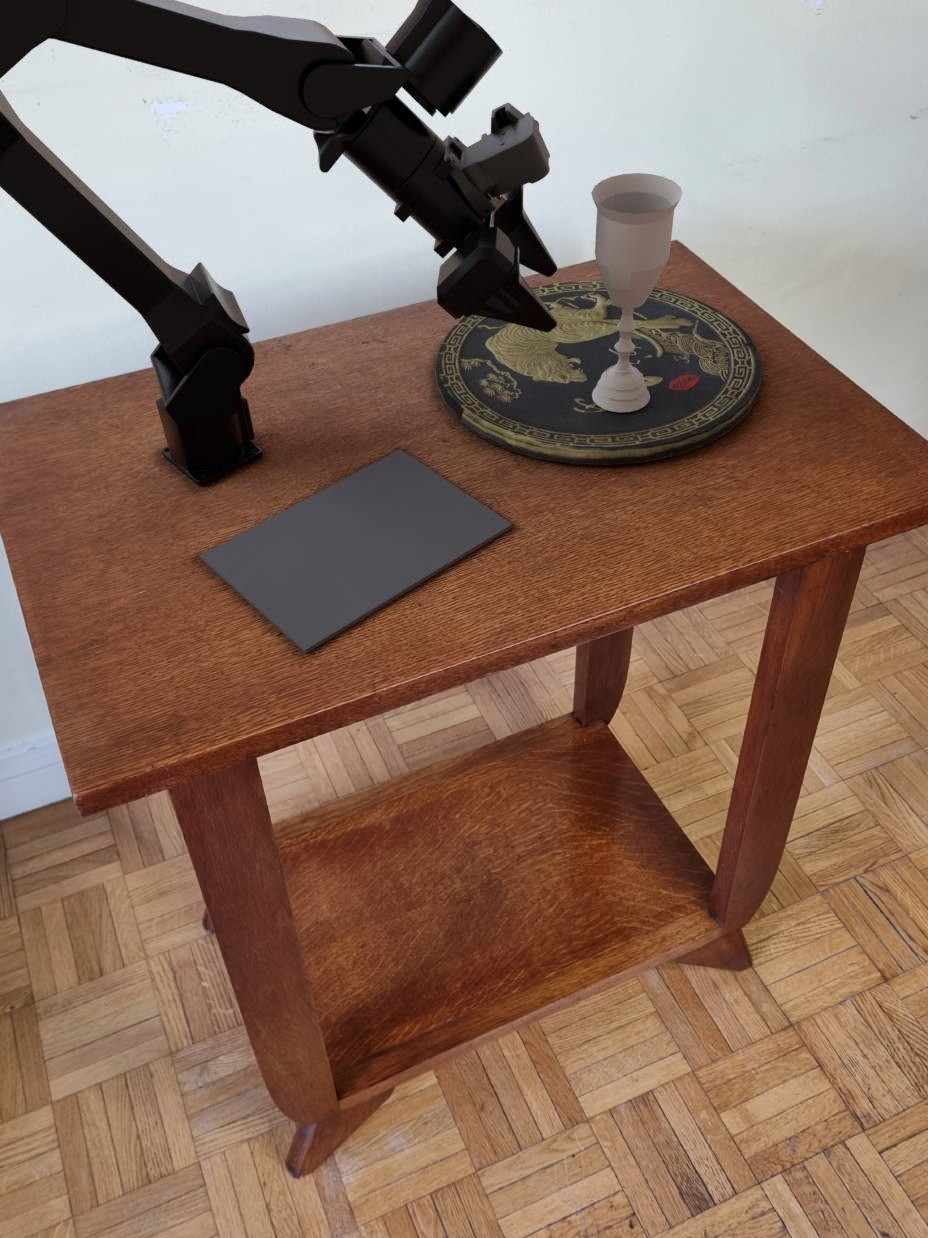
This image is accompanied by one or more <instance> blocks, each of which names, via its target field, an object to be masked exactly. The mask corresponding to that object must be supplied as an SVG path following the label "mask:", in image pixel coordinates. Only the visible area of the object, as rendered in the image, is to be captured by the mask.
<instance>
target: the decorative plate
mask: <svg viewBox="0 0 928 1238" xmlns="http://www.w3.org/2000/svg"><path fill="white" fill-rule="evenodd" d="M531 288H532V289H533V291H534V292H535V293H536V294H537V296H538V297H539V298H540V299H541V301H542V302H543V303H544V304H545V306H546V307H547V308H548V310H549V311H550V312H551V314H552V315H553V316H554V318H555V319H556V321H557V326H556V327H555V328H554V329H553V330H551V331H550V332H543V331H539V330H536V329H532V328H528V327H525V326H521V325H517V324H513V323H510V322H506V321H502V320H497V319H492V318H487V317H482V316H477V315H471V316H470V317H468V318H467V317H465V316H462V317H461V318H460V319H459V321H458V322H457V323H456V324H455V325H454V326H453V327H452V328H451V329H449V331H448V333H447V334H446V336H445V338H444V340H443V341H442V343H441V345H440V346H439V349H438V354H437V359H436V362H435V366H434V367H435V368H434V369H435V371H434V374H435V381H436V390H437V392H438V394H439V397H440V399H441V400H442V402H443V404H444V406H445V408H446V409H447V410H448V412H449V413H450V414H451V415H452V416H453V417H454V418H455V419H456V420H457V421H458V422H459V423H460V424H461V425H462V426H463V427H465V428H466V429H467V430H470V431H471V432H472V433H474V434H475V435H477V436H478V437H479V438H481V439H483V440H485V441H487V442H488V443H489V442H490V443H492V444H494V445H496V446H499V447H501V448H503V449H506V450H508V451H510V452H514V453H518V454H521V455H524V456H528V457H532V458H535V459H540V460H544V461H552V462H559V463H564V464H572V465H590V466H591V465H593V466H595V465H596V466H616V465H617V466H618V465H628V464H629V465H630V464H639V463H641V464H642V463H649V462H653V461H658V460H662V459H668V458H671V457H676V456H681V455H683V454H684V453H685V454H686V453H688V452H691V451H693V450H696V449H700V448H702V447H704V446H707V445H709V444H711V443H712V442H714V441H716V440H717V439H719V438H721V437H722V436H725V435H727V433H729V432H731V431H732V429H734V428H735V427H736V426H737V425H738V424H739V423H741V421H743V420H744V419H745V418H746V417H747V416H748V415H749V413H750V412H751V410H752V408H753V407H754V406H755V403H756V402H757V400H758V398H759V395H760V391H761V385H762V380H763V374H764V373H763V372H764V371H763V367H762V366H763V365H762V359H761V354H760V352H759V350H758V349H757V347H756V345H755V343H754V341H753V339H752V338H751V336H750V335H749V334H748V333H747V332H746V331H745V330H744V329H743V328H742V327H741V326H740V325H739V324H738V323H737V322H736V321H735V320H734V319H732V318H730V317H729V316H727V315H726V314H725V313H723V312H722V311H720V310H719V309H717V308H715V307H713V306H710V305H709V304H706V303H705V302H703V301H700V300H698V299H697V298H694V297H690V296H687V295H684V294H682V293H679V292H675V291H672V290H669V289H664V288H660V287H656V286H655V287H654V288H653V290H652V291H651V293H650V295H649V296H648V298H647V300H646V301H645V303H644V304H643V305H642V306H640V307H637V308H634V310H633V314H632V315H633V322H634V324H635V325H636V328H635V329H634V330H633V332H632V334H631V341H632V343H633V344H634V345H635V349H634V350H633V351H631V353H630V356H629V364H630V365H631V366H633V367H635V368H637V369H638V370H639V371H640V373H641V374H642V375H643V378H644V381H645V383H646V386H647V390H648V391H649V395H650V399H649V402H648V403H647V404H646V405H645V406H644V407H642V408H640V409H639V410H635V411H631V412H613V411H609V410H606V409H603V408H601V407H600V406H598V405H597V404H596V403H595V402H594V401H593V398H592V393H593V390H594V389H595V388H596V386H597V383H598V381H599V380H600V379H601V375H602V374H603V373H604V372H605V371H606V370H607V369H608V368H609V367H611V366H613V365H616V364H617V363H618V360H619V356H618V351H617V350H616V349H615V347H614V346H615V344H616V343H617V342H619V339H620V337H621V336H620V332H619V330H618V329H617V325H618V324H619V322H620V320H621V317H622V308H620V307H617V306H615V305H614V304H613V303H612V301H611V299H610V296H609V294H608V292H607V290H606V287H605V285H604V283H603V281H602V280H582V281H581V280H579V281H570V282H569V281H568V282H558V283H551V284H546V285H540V286H534V287H531Z"/></svg>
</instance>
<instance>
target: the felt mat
mask: <svg viewBox="0 0 928 1238" xmlns="http://www.w3.org/2000/svg"><path fill="white" fill-rule="evenodd" d="M511 529H513V523H511V522H510V521H508V520H507V519H505V518H504V517H502V515H500V514H498V513H496V511H494V510H492V509H491V508H489V507H488V506H486V505H484V504H483V503H482V502H480V501H479V500H477V499H476V498H474V497H473V496H471V495H470V494H469V493H466V492H465V491H464V490H462V489H461V488H459V487H458V486H456V484H453V483H452V482H451V481H449V480H448V479H446V478H444V477H443V476H441V475H440V474H438V473H437V472H435V471H434V470H432V469H431V468H430V467H428V466H426V465H425V464H424V463H422V462H420V461H419V460H417V459H416V458H415V457H413V456H412V455H410V454H408V453H407V452H405V451H404V450H402V449H401V448H399V449H397V450H395V451H394V452H392V453H390V454H387V455H386V456H384V457H382V458H380V459H378V460H377V461H375V462H373V463H371V464H370V465H368V466H366V467H364V468H362V469H360V470H358V471H356V472H354V473H352V474H351V475H348V476H347V477H345V478H343V479H341V480H340V481H338V482H336V483H334V484H332V485H330V486H328V487H326V488H325V489H322V490H321V491H319V492H316V493H315V494H313V495H311V496H309V497H307V498H305V499H303V500H302V501H300V502H298V503H296V504H294V505H292V506H291V507H288V508H286V509H285V510H283V511H281V512H279V513H277V514H276V515H273V516H272V517H270V518H268V519H265V520H263V521H262V522H261V523H259V524H256V525H255V526H253V527H251V528H249V529H247V530H245V531H244V532H242V533H240V534H238V535H236V536H234V537H231V538H230V539H229V540H227V541H224V542H223V543H221V544H219V545H217V546H216V547H213V548H211V549H210V550H207V551H206V552H204V553H202V554H200V555H199V557H200V560H201V561H202V562H203V563H204V564H205V565H207V566H208V567H209V568H210V569H211V570H212V571H213V572H214V573H216V575H218V576H219V577H220V578H221V579H222V580H223V581H224V582H225V583H227V585H229V586H230V587H231V588H232V589H233V590H234V591H235V592H237V593H238V594H239V596H241V597H242V598H243V599H244V600H246V601H247V602H248V603H249V604H250V605H251V606H252V607H253V608H254V609H255V610H256V611H257V612H259V613H260V614H261V615H262V616H263V617H264V618H265V619H266V620H267V621H269V622H270V623H271V624H272V625H273V626H274V627H275V628H276V629H277V630H279V631H280V632H281V633H282V634H283V635H284V636H285V637H287V638H288V639H289V640H290V641H291V642H292V643H293V644H294V645H295V646H296V647H298V648H299V649H300V650H301V651H302V652H303V653H304V654H309V653H310V652H312V651H313V650H315V649H317V648H318V647H320V646H321V645H323V644H325V643H326V642H328V641H330V640H331V639H333V638H334V637H336V636H338V635H339V634H342V632H344V631H346V630H347V629H349V628H351V627H352V626H354V625H356V624H358V623H359V622H360V621H362V620H364V619H366V618H367V617H369V616H370V615H372V614H374V613H376V612H377V611H379V610H380V609H382V608H383V607H385V606H387V605H389V604H390V603H392V602H393V601H395V600H397V599H398V598H400V597H401V596H403V595H405V594H406V593H408V592H410V591H411V590H413V589H414V588H416V587H418V586H420V585H421V584H423V583H424V582H426V581H428V580H429V579H431V578H432V577H434V576H436V575H437V574H439V573H441V572H442V571H444V570H445V569H448V568H449V567H451V566H452V565H454V564H455V563H458V562H459V561H461V560H462V559H463V558H465V557H467V556H469V555H470V554H472V553H473V552H476V551H477V550H479V549H481V547H483V546H485V545H486V544H488V543H490V542H491V541H493V540H495V539H496V538H498V537H499V536H501V535H503V534H505V533H506V532H508V531H510V530H511Z"/></svg>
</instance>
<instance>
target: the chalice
mask: <svg viewBox="0 0 928 1238" xmlns="http://www.w3.org/2000/svg"><path fill="white" fill-rule="evenodd" d="M590 193H591V197H592V201H593V203H594V205H595V207H596V225H595V242H594V256H595V260H596V265H597V267H598V271H599V275H600V278H601V281H603V283H604V285H605V287H606V290H607V292H608V294H609V296H610V299H611V301H612V303H613V304H614V305H615V306H617V307H620V308H622V317H621V320H620V322H619V324H618V325H617V329H618V330H619V332H620V336H621V337H620V339H619V342H617V343H616V344H615V346H614V347H615V349H616V350H617V351H618V356H619V360H618V363H617V364H616V365H613V366H611V367H609V368H608V369H607V370H606V371H605V372H604V373H603V374H602V375H601V379H600V380H599V381H598V383H597V386H596V388H595V389H594V390H593V393H592V398H593V401H594V402H595V403H596V404H597V405H598V406H600V407H601V408H603V409H606V410H609V411H613V412H631V411H635V410H639V409H640V408H642V407H644V406H645V405H646V404H647V403H648V402H649V399H650V395H649V391H648V390H647V386H646V383H645V381H644V378H643V375H642V374H641V373H640V371H639V370H638V369H637V368H635V367H633V366H631V365H630V364H629V356H630V353H631V351H633V350H634V349H635V345H634V344H633V343H632V341H631V334H632V332H633V330H634V329H635V328H636V325H635V324H634V322H633V315H632V314H633V310H634V308H637V307H640V306H642V305H643V304H644V303H645V301H646V300H647V298H648V296H649V295H650V293H651V291H652V290H653V288H654V287H655V288H656V285H657V283H658V282H659V279H660V277H661V276H662V274H663V272H664V269H665V267H666V265H667V263H668V260H669V257H670V254H671V244H672V237H673V227H674V226H673V225H674V215H675V209H676V208H677V206H678V205H679V203H680V201H681V199H682V196H683V190H682V187H681V186H680V185H679V184H678V183H677V182H676V181H675V180H672V179H670V178H667V177H665V176H661V175H657V174H652V173H640V172H634V173H623V174H618V175H613V176H610V177H607V178H605V179H602V180H601V181H599V182H598V183H596V185H594V186H593V188H592V190H591V192H590Z"/></svg>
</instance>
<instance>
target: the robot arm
mask: <svg viewBox="0 0 928 1238" xmlns="http://www.w3.org/2000/svg"><path fill="white" fill-rule="evenodd" d="M47 40H56V41H59V42H64V43H66V44H67V43H68V44H71V45H75V46H78V47H82V48H86V49H89V50H93V51H97V52H101V53H105V54H108V55H112V56H115V57H120V58H123V59H125V60H131V61H133V62H138V63H142V64H145V65H150V66H152V67H157V68H161V69H163V70H167V71H172V72H176V73H179V74H182V75H186V76H189V77H193V78H197V79H201V80H205V81H208V82H213V83H217V84H220V85H223V86H225V87H227V88H230V89H232V90H234V91H236V92H238V93H240V94H242V95H243V96H245V97H247V98H249V99H251V100H252V101H254V102H255V103H257V104H259V105H261V106H263V107H264V108H266V109H268V110H269V111H271V112H273V113H275V114H277V115H280V116H281V117H283V118H286V119H288V120H290V121H291V122H294V123H297V124H298V125H301V126H302V127H305V128H307V129H310V130H313V131H312V137H313V140H314V142H315V144H316V148H317V150H318V151H317V163H318V168H319V171H320V172H321V173H323V174H327V173H328V172H330V170H331V169H332V168H333V166H335V164H336V163H337V161H338V160H339V159H340V158H341V156H342V155H343V156H344V157H345V158H346V159H347V160H348V161H349V162H350V163H351V164H352V165H354V166H355V167H356V168H357V169H358V170H359V171H360V172H361V173H363V175H365V176H366V177H367V178H368V179H369V180H370V181H371V182H372V183H373V184H375V185H376V187H378V188H379V189H380V190H381V191H382V192H383V193H384V194H385V195H386V196H387V197H389V198H390V199H391V200H392V201H393V203H395V206H394V211H393V215H394V216H395V217H396V218H397V219H399V221H401V222H402V223H405V222H406V221H407V220H408V219H409V218H410V219H412V220H413V221H414V222H416V223H417V224H418V225H419V226H420V227H421V228H422V229H423V230H424V231H425V232H427V233H428V234H429V235H430V236H431V237H432V238H433V239H434V243H433V251H434V252H435V253H436V254H437V255H438V256H439V257H440V258H441V259H445V258H446V257H447V255H448V254H449V253H450V252H451V251H453V250H454V249H455V251H454V252H453V253H452V254H451V255H450V256H449V257H448V258H447V259H445V260H444V262H443V263H442V264H441V265H440V266H439V272H438V277H437V281H436V305H438V306H440V308H442V309H443V310H444V311H445V312H446V313H447V314H449V316H451V318H453V319H454V320H461V319H462V318H463V317H467V318H468V317H470V316H471V315H477V316H482V317H487V318H492V319H497V320H502V321H506V322H510V323H513V324H517V325H521V326H525V327H528V328H532V329H536V330H539V331H543V332H550V331H551V330H553V329H554V328H555V327H556V326H557V321H556V319H555V318H554V316H553V315H552V314H551V312H550V311H549V310H548V308H547V307H546V306H545V304H544V303H543V302H542V301H541V299H540V298H539V297H538V296H537V294H536V293H535V292H534V291H533V289H532V288H533V287H531V286H530V284H529V283H528V282H527V281H526V279H525V278H524V277H523V276H522V274H521V271H520V265H521V266H523V267H525V268H527V269H529V270H530V271H533V272H535V273H537V274H539V275H541V276H543V277H546V278H551V277H553V275H554V274H555V273H557V272H558V265H557V263H556V262H555V260H554V259H553V256H552V255H551V254H550V252H549V250H548V249H547V246H546V245H545V243H544V241H543V240H542V238H541V236H540V235H539V233H538V232H537V230H536V228H535V227H534V224H533V223H532V221H531V219H530V218H529V216H528V213H527V212H526V210H525V208H524V185H526V184H535V183H537V182H539V181H541V180H544V178H546V177H547V175H548V174H549V173H550V171H551V168H550V157H551V154H550V152H549V150H548V149H549V148H548V147H547V144H546V142H545V140H544V138H543V135H542V133H541V131H540V123H539V121H538V120H536V119H535V117H534V116H533V115H531V113H530V112H529V111H527V112H526V113H522V112H521V111H520V110H519V109H518V108H516V107H515V106H514V105H513V104H512V103H510V102H505V103H503V104H502V105H499V106H498V107H495V108H494V109H492V110H491V117H490V133H489V134H487V132H484V133H483V134H481V138H480V139H479V140H478V141H476V142H474V143H473V144H471V145H468V146H467V145H465V144H464V143H463V142H462V141H461V140H460V138H458V137H457V136H453V137H452V136H451V135H450V134H448V135H447V136H446V138H444V139H442V138H441V137H440V136H439V135H437V133H435V131H434V130H433V129H432V128H430V126H428V125H427V124H426V123H425V122H424V121H423V120H422V118H420V117H419V116H418V115H417V114H416V112H415V111H413V110H412V109H411V107H409V106H408V105H407V104H406V103H405V102H404V101H403V100H402V99H401V98H400V97H399V96H398V95H397V93H398V92H399V91H400V90H401V88H402V90H404V91H405V93H407V94H408V95H409V96H410V97H411V98H412V99H413V100H414V101H415V102H416V103H417V104H418V105H419V106H420V107H421V108H422V109H424V111H425V112H426V113H428V115H430V116H431V117H434V116H435V114H436V113H437V112H438V113H440V115H442V117H444V118H445V119H446V118H447V116H448V115H449V114H451V116H452V115H453V114H455V112H456V111H457V110H458V108H459V107H460V106H461V105H462V104H463V102H464V101H465V100H466V99H467V98H468V96H469V95H470V94H471V93H472V91H473V90H474V89H475V88H476V86H477V85H478V84H480V82H481V80H482V79H483V78H484V77H485V76H486V75H487V73H488V72H489V71H490V70H491V68H492V67H493V66H494V65H495V64H496V62H497V61H498V60H499V58H500V57H501V56H502V55H503V53H504V51H503V50H502V48H501V47H500V45H499V44H498V43H497V42H496V41H495V39H493V38H492V36H491V35H490V34H489V33H488V32H487V30H485V28H484V27H483V26H481V25H480V24H479V23H478V22H476V21H475V20H474V19H473V18H471V17H470V16H469V15H467V14H466V13H465V12H464V11H463V10H462V9H461V8H459V6H457V4H456V3H455V2H453V0H417V2H416V4H415V6H414V8H413V9H412V11H411V12H410V14H409V15H407V17H406V19H405V20H404V21H403V23H402V24H401V25H400V26H399V28H398V29H397V30H396V31H395V33H394V34H393V35H392V37H391V38H390V39H389V40H388V42H387V43H386V44H385V46H384V45H383V44H382V43H381V42H380V41H379V40H378V39H377V38H376V37H374V36H359V35H358V36H357V35H344V34H334V33H333V31H331V30H330V29H329V28H328V27H327V26H326V25H324V24H322V23H321V22H319V21H317V20H313V19H308V18H297V17H291V16H290V17H289V16H279V15H270V14H269V15H268V14H266V15H265V14H264V15H249V16H248V15H247V16H240V15H239V16H238V15H230V14H224V13H223V14H222V13H220V12H216V11H212V10H209V9H206V8H203V7H199V6H196V5H193V4H190V3H186V2H182V1H179V0H0V80H1V79H2V78H3V77H4V76H5V75H6V74H7V73H8V72H10V70H12V69H13V68H14V67H15V66H16V65H17V64H18V63H19V62H21V61H22V60H23V59H24V58H25V57H27V55H28V54H29V53H30V52H32V50H34V49H35V48H36V47H38V46H40V45H42V44H43V43H44V42H46V41H47ZM0 188H1V189H2V191H4V192H5V193H6V194H7V195H8V196H9V197H11V198H12V199H13V200H14V201H15V202H16V203H17V204H18V205H20V206H21V207H22V208H23V210H25V211H26V212H27V213H28V214H29V215H31V216H32V217H33V218H34V219H35V220H36V221H37V222H38V223H39V224H41V225H42V227H44V228H45V229H46V230H47V231H48V232H49V233H50V234H51V235H52V236H54V237H55V238H56V239H57V240H58V241H60V243H61V244H63V245H64V246H65V247H66V248H67V249H68V250H69V251H70V252H71V253H73V254H74V255H75V257H77V258H78V259H79V260H80V261H81V262H82V263H84V264H85V265H86V266H87V267H88V268H89V269H90V270H91V271H92V272H94V273H95V275H96V276H98V277H99V278H101V280H102V281H103V282H104V283H106V284H107V285H108V286H109V287H110V288H111V289H112V290H113V291H114V292H115V293H117V294H118V295H119V296H120V297H121V298H122V299H123V300H124V301H125V302H127V303H128V304H129V305H130V306H131V307H132V308H133V309H134V310H135V311H137V312H138V313H139V314H140V316H141V317H142V319H143V320H144V321H145V322H146V324H147V327H149V329H150V330H151V332H152V333H153V335H154V337H155V338H156V340H157V341H158V343H157V345H156V347H155V348H154V350H153V351H152V352H151V354H149V359H150V363H151V366H152V369H153V372H154V375H155V378H156V382H157V386H158V388H159V391H160V396H161V397H159V398H158V399H156V400H155V403H156V407H157V412H158V415H159V418H160V421H161V422H160V423H161V426H162V430H163V433H164V438H165V442H166V445H167V446H165V447H163V448H162V449H161V454H162V457H163V458H165V459H166V461H168V462H169V463H170V464H172V466H174V467H175V468H176V469H178V470H179V471H180V472H181V473H182V474H184V475H185V476H186V477H187V478H188V479H189V480H191V481H192V482H193V483H195V484H196V485H197V486H206V485H207V484H209V483H211V482H213V481H215V480H217V479H219V478H221V477H223V476H225V475H227V474H229V473H231V472H233V471H235V470H237V469H240V468H241V467H243V466H245V465H248V464H249V463H251V462H254V461H255V460H257V459H259V458H261V457H262V456H263V450H262V448H261V447H260V446H258V444H256V443H254V442H253V441H254V440H255V437H256V435H255V429H254V425H253V420H252V416H251V410H250V406H249V400H248V398H246V397H245V396H244V395H242V392H241V387H242V384H244V383H245V382H246V380H247V379H248V378H249V377H250V376H251V374H252V371H253V369H254V366H255V356H256V353H255V350H254V347H253V344H252V341H251V340H250V338H249V335H248V334H249V333H250V332H251V329H250V327H249V325H248V323H247V320H246V318H245V316H244V314H243V311H242V309H241V307H240V305H239V303H238V300H237V299H236V296H235V294H234V291H231V290H229V289H227V288H224V287H222V286H221V285H220V284H219V283H218V282H217V281H216V280H215V279H214V278H213V276H212V275H211V273H210V272H209V271H208V269H207V268H206V266H205V265H204V263H202V262H200V261H199V262H198V263H197V264H196V265H195V266H194V268H193V269H192V270H191V271H190V273H188V272H186V271H183V270H181V269H178V268H177V267H174V266H172V265H171V264H169V263H168V262H167V261H165V260H164V259H163V258H162V257H161V255H160V254H159V253H158V252H156V251H155V250H154V249H153V248H152V247H151V246H150V245H149V244H148V243H147V242H146V241H145V240H144V239H143V238H142V237H141V236H140V235H139V234H138V233H137V232H136V231H134V229H132V228H131V226H130V225H129V224H128V223H127V222H125V220H123V219H122V218H121V217H120V216H119V214H117V213H116V212H115V211H114V210H113V209H112V208H111V207H110V206H109V205H108V204H107V203H106V202H105V201H104V200H103V199H101V198H100V196H99V195H97V194H96V193H95V192H94V191H93V190H92V188H90V187H89V186H88V185H87V183H85V182H84V181H83V180H82V179H81V178H80V176H78V175H77V174H76V173H75V172H74V171H73V170H72V169H71V168H70V167H69V166H68V165H67V164H66V163H64V161H62V160H61V158H60V157H58V156H57V154H55V152H53V151H52V150H51V149H50V148H49V147H48V146H47V145H46V144H45V143H44V142H43V141H42V140H41V139H40V138H39V137H38V136H37V135H36V134H35V133H34V132H33V131H32V130H31V129H30V128H29V127H28V126H27V125H26V124H25V122H23V121H22V120H21V118H20V117H19V116H18V114H17V113H16V111H15V109H14V108H13V107H12V105H11V103H10V102H9V100H8V99H7V97H6V95H5V93H3V91H2V90H1V89H0Z"/></svg>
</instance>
